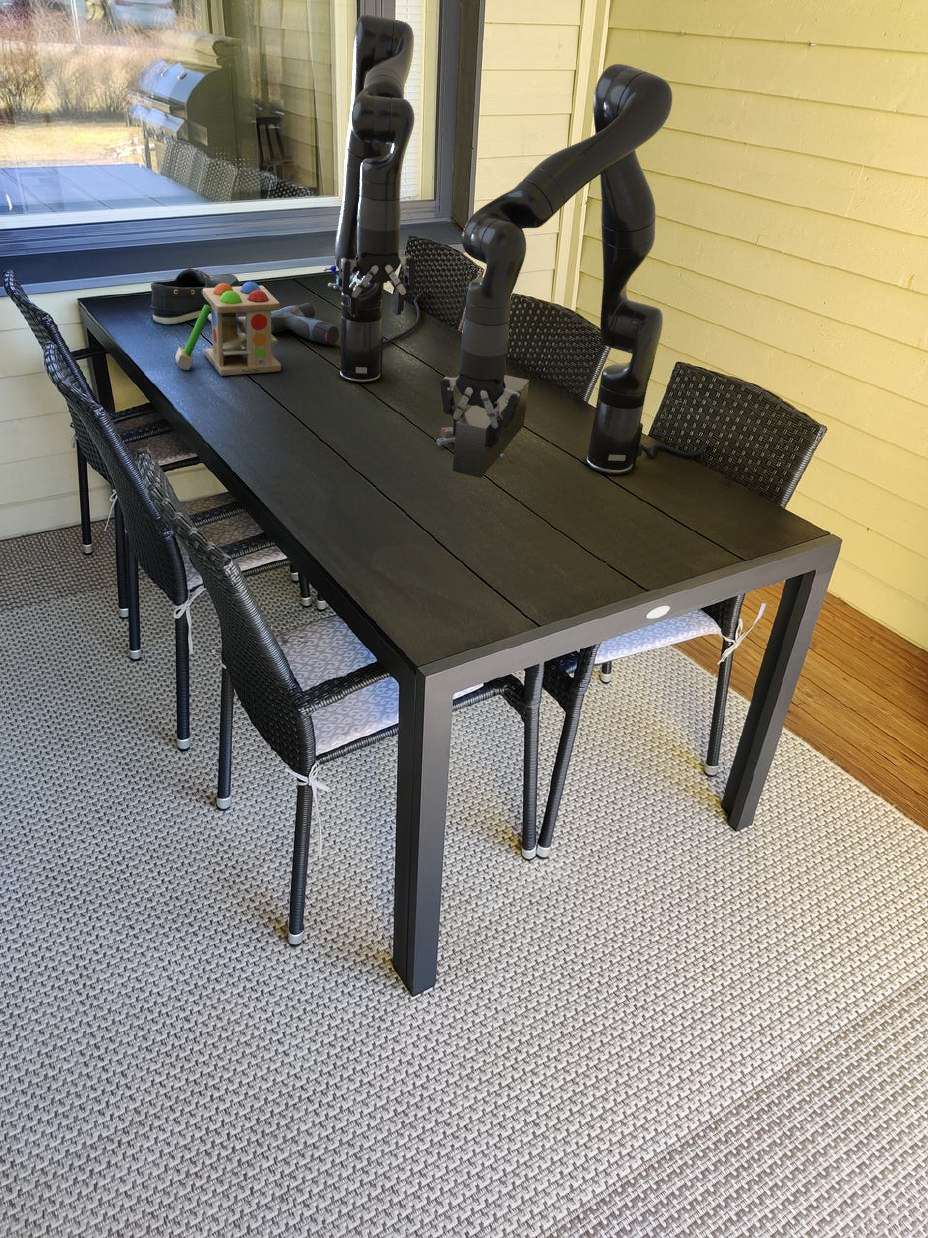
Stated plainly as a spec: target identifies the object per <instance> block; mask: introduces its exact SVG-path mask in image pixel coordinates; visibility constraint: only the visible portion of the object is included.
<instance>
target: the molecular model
mask: <svg viewBox="0 0 928 1238" xmlns="http://www.w3.org/2000/svg"><path fill="white" fill-rule="evenodd" d="M322 271H323V272H325V273H326V272H328V271H331V272H332V273H334V275H335V277H336V283H331V282H329V283H327V287H329V288H333V289H334V290H338V277H339V273H338V271H337V265H336V261H335V260H334V265H332V266H330V267H326V266H325V267H323V268H322ZM355 275H356V273H351V275H350V284H351V283H352V282H353V278H354V277H355Z"/></svg>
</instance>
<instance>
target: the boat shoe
mask: <svg viewBox="0 0 928 1238" xmlns="http://www.w3.org/2000/svg"><path fill="white" fill-rule="evenodd" d="M221 283H226V284H228V285H230V286H231V287H242V286H241V282H240V281H239V279H238V277H237V276H236V275H235V274H232V273H224V274H217V275H214V276H209V275H208V274H207V273H206V272H204V271H203V270H199V269H194V268H186V269H183V270H182V271H181V272H179V273H178V274H177V276H176V277H175V279H173V280H172V279H171V280H165V281H161V280H159V281H153V282H151V283H150V289H151V304H150V308H151V309H152V310H153V312H152V318H153V321H154V322H157V323H158V324H164V325H175V324H180V323H183V322H187V321H190V320H195V319H198V318H199V316H200V314H201V311H202V309H203V307H204V305H208V306H210V307H211V305H210V304H209V302H208V301H207V300H206V299H205V297H204V296H203V289H204V288H215V287H216V286H217V285H218V284H221ZM210 312H211V310H210Z"/></svg>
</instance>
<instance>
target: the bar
mask: <svg viewBox="0 0 928 1238" xmlns="http://www.w3.org/2000/svg"><path fill="white" fill-rule="evenodd" d="M504 383H505V385H506V388H507V389H510V390H512V391H514V392H515V391H516V390H519V391H520V392H521V397H520V400H519V403H518V406H517V408H516V411H515V414H514V417H513V420H512V422H511V423H510V424H509V425H508V426H507V427H501V428H500V437H499V441H498V443H497V444H496V445H494V446H493V448H490V447H488V439H489V429H490V427H491V423H490V420H489V416H487V413H486V410H485V408H481V407H479V406H470V408H469V409H467V410H466V411H465V413H464V414H463V416H462V417H461V418H460V419H459V420H458V421H457V422H456V434H455V443H454V449H453V461H452V462H453V463H452V472H453V473H458V474H463V475H466V476H471V477H476V478H479V479H482V478H483V477H484V476H485V474H487V473H488V471H489V469H490V468H491V467H492V466H493V465H494V463H495V462H496V461H497V459H498V458H499V457H501V456H500V455H501V454H503V452H504V451H505V450H506V449H507V447H508V446H509V445H510V443H511V442H512V441H513V440H514V439H515V437H517V435H518V434H519V432H520V431H521V430H522V429H523V427H524V426H525V418H526V412H527V411H526V410H527V402H528V393H529V387H530V386H529V384H530V379H526V378H520V377H516V376H512V375H506V374H505V375H504ZM498 402H499V405H500V413H501V417H504V414H505V411H506V408H507V405H508V404H507V403H506V402H505V396H504V395H502V396H501V397H500V398H499V399H498Z"/></svg>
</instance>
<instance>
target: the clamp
mask: <svg viewBox="0 0 928 1238" xmlns="http://www.w3.org/2000/svg"><path fill="white" fill-rule="evenodd" d="M452 443H453V444H455V436H453V426H450V427H441V429H440V437H439V438H436V444H437V445H438V446H439V447H441V446H448V445H449V444H452ZM499 457H500V459H502V460H504V459H506V457H507V456H506V454H504V453H501V455H500V456H499Z"/></svg>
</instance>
